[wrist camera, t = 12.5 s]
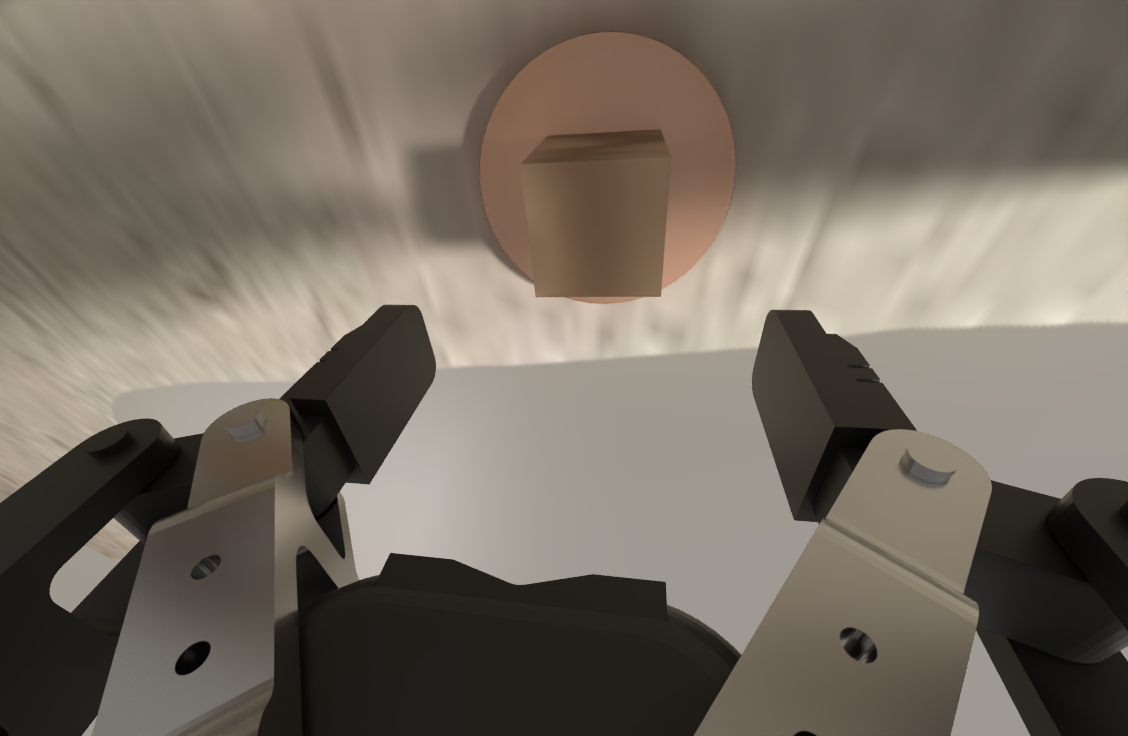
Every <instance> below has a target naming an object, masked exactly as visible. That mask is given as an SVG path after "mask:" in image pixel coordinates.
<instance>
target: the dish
mask: <svg viewBox="0 0 1128 736" xmlns="http://www.w3.org/2000/svg"><path fill="white" fill-rule="evenodd" d="M657 129H661V132H662V134H663V137H664V139H665V142H666V144H667V147H668V150H669V152H670V155H671V168H670V182H669V195H668V208H667V222H666V235H665V248H664V262H663V275H662V288H661V289H663V288H665V287H667V286H668V285H670V284H672V283H673V282H675V281H676V280H677V279H679V278H680V277H681V276H683V275H684V274H685V273H686V272H688V271H689V270H690V269H691V268H692V267H693V266H694V265H695V264H696V263H697V262H698V261H699V260H700V258H701V257H702V256H703V255H704V254H705V253H706V251H707V250H708V248H709V247H710V245H711V244H712V242H713V241H714V239H715V238H716V236H717V234H718V232H719V230H720V228H721V226H722V224H723V222H724V220H725V217H726V215H727V212H728V209H729V206H730V203H731V198H732V194H733V190H734V182H735V173H736V157H735V145H734V139H733V133H732V129H731V126H730V122H729V119H728V116H727V113H726V111H725V109H724V106H723V104H722V102H721V100H720V98H719V96H718V94H717V93H716V91H715V90H714V88H713V87H712V85H711V84H710V82H709V81H708V79H707V78H706V77H705V76H704V75H703V74H702V73H701V72H700V70H699V69H698V68H697V67H696V66H695V65H694V64H693V63H692V62H690V61H689V60H688V59H687V58H685V57H684V56H683V55H681V54H680V53H679V52H678V51H676V50H674V49H672V48H670V47H668V46H667V45H665V44H663V43H661V42H659V41H656V40H653V39H650V38H647V37H644V36H642V35H636V34H630V33H624V32H599V33H593V34H587V35H581V36H578V37H575V38H572V39H569V40H567V41H564V42H561V43H560V44H558V45H556V46H554V47H552V48H550V49H548V50H546V51H545V52H543V53H542V54H540V55H539V56H538V57H536V58H535V59H534V60H532V61H531V62H529V63H528V64H527V65H526V66H525V67H524V68H523V69H522V70H521V71H520V72H519V73H518V74H517V75H516V76H515V78H514V79H513V80H512V81H511V83H510V84H509V85H508V87H507V88H506V89H505V91H504V92H503V94H502V95H501V97H500V99H499V101H498V102H497V104H496V106H495V108H494V110H493V112H492V115H491V117H490V120H489V122H488V125H487V128H486V132H485V135H484V139H483V143H482V150H481V157H480V186H481V195H482V200H483V204H484V208H485V212H486V215H487V218H488V221H489V223H490V226H491V228H492V230H493V232H494V234H495V236H496V239H497V241H498V242H499V244H500V245H501V247H502V248H503V250H504V251H505V253H506V254H507V255H508V257H509V258H510V259H511V260H512V261H513V263H514V264H515V265H516V266H517V267H518V268H519V269H520V270H521V271H522V272H523V273H524V274H525V275H527V276H528V277H529V278H531V279H532V280H533V281H534V277H533V269H532V260H531V252H530V243H529V235H528V226H527V217H526V209H525V200H524V192H523V183H522V175H521V166H520V164H521V163H522V162H523V161H524V160H525V159H526V158H527V157H528V155H529V154H530V153H531V152H532V151H533V150H534V149H535V148H536V147H537V146H538V145H539V144H540V143H541V142H542V141H543V140H544V139H545V138H546V137H547V136H550V135H568V134H586V133H603V132H621V131H639V130H657ZM566 298H569V299H573V300H576V301H582V302H587V303H598V304H609V303H621V302H627V301H632V300H635V299H639V298H642V297H566Z"/></svg>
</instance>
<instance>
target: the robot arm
mask: <svg viewBox="0 0 1128 736" xmlns="http://www.w3.org/2000/svg"><path fill="white" fill-rule="evenodd" d="M435 372H436V362H435V357H434V353H433V350H432V347H431V343H430V340H429V336H428V333H427V330H426V326H425V323H424V320H423V316H422V313H421V311H420V310H419V308H418V307H417V306H415V305H383V306H381V307H380V308H379V309H378V310H377V311H376V312H375V313H374V314H373V315H372V316H371V317H370V318H369V319H368V320H367V321H366V322H365V323H364V324H363V325H362V326H360V327H358V328H356V329H355V330H353V331H351V332H350V333H348V334H346V335H344V336H343V337H342V338H341V339H340V340H339V341H338V342H337V343H336V344H335V345H334V346H333V347H332V348H331V351H328V352H327V353H326V354H325V355H324V356H323V357H322V358H321V359H320V362H317V363H316V364H315V365H314V366H313V367H312V368H310V369H309V370H308V371H307V372H306V373H305V374H304V375H303V376H302V377H301V378H300V379H299V380H298V381H297V382H296V383H295V384H294V385H293V386H292V387H291V388H290V389H289V390H288V391H287V392H286V393H285V394H284V395H283V396H282V397H281V398H280V399H270V398H269V399H261V400H256V401H252V402H249V403H246V404H243V405H240V406H238V407H236V408H234V409H232V410H231V411H228V412H227V413H225V414H224V415H222V416H220V417H219V418H218V419H216V420H215V421H214V422H213V423H212V424H211V425H210V426H209V427H208V428H207V429H206V431H205V432H204V433H203V434H197V435H191V436H186V437H180V438H174V439H173V437H172V436H171V435H170V434H169V433H168V432H167V431H166V429H165V428H164V427H163V426H162V425H161V424H160V422H158V421H157V420H154V419H137V420H132V421H127V422H124V423H121V424H118V425H115V426H112V427H110V428H107V429H105V430H103V431H101V432H99V433H97V434H95V435H93V436H91V437H90V438H88V439H86V440H85V441H83V442H82V443H80V444H79V445H77V446H76V447H75V448H73V449H72V450H71V451H69V452H68V453H67V454H65V455H64V456H63V457H61V458H60V459H59V460H57V461H56V462H55V463H53V464H52V465H51V466H49V467H48V468H47V469H45V470H44V471H43V472H41V473H40V474H39V475H37V476H36V477H35V478H33V479H32V480H31V481H29V482H28V483H27V484H25V485H24V486H23V487H21V488H20V489H18V490H17V491H16V492H14V493H13V494H12V495H10V496H9V497H8V498H6V499H5V500H4V501H2V502H1V503H0V736H82V734H83V733H84V732H85V731H86V729H87V728H88V727H89V725H90V724H91V723H92V721H93V720H94V719H95V717H96V716H97V719H96V722H95V726H94V729H93V733H92V736H950V735H951V731H952V727H953V722H954V718H955V714H956V710H957V706H958V702H959V698H960V693H961V690H962V685H963V681H964V677H965V673H966V669H967V665H968V661H969V656H970V652H971V648H972V644H973V640H974V636H975V632H976V631H977V633H978V635H979V637H980V639H981V640H982V642H983V644H984V646H985V648H986V650H987V652H988V654H989V656H990V658H991V660H992V662H993V664H994V666H995V668H996V670H997V672H998V673H999V675H1000V677H1001V679H1002V681H1003V683H1004V685H1005V687H1006V689H1007V691H1008V693H1009V695H1010V696H1011V699H1012V700H1013V702H1014V704H1015V706H1016V708H1017V710H1018V712H1019V714H1020V716H1021V718H1022V720H1023V722H1024V724H1025V725H1026V728H1027V730H1028V731H1029V733H1030V735H1031V736H1128V661H1127V660H1126V658H1125V657H1124V656H1123V654H1122V653H1121V652H1120V650H1122V649H1123V648H1125V647H1127V646H1128V482H1126V481H1121V480H1115V479H1108V478H1092V479H1086V480H1083V481H1080V482H1079V483H1077V484H1076V485H1075V486H1074V487H1073V488H1072V489H1071V490H1070V491H1069V492H1068V493H1067V494H1066V495H1065V496H1064V497H1063V498H1062V499H1059V498H1055V497H1052V496H1048V495H1044V494H1040V493H1037V492H1032V491H1028V490H1025V489H1021V488H1017V487H1014V486H1010V485H1006V484H1003V483H999V482H995V481H992V480H990V478H989V476H988V474H987V472H986V471H985V469H984V468H983V467H982V466H981V465H980V464H979V463H978V462H977V461H976V460H975V459H974V458H973V457H972V456H970V455H969V454H968V453H967V452H965V451H964V450H962V449H960V448H959V447H957V446H955V445H954V444H952V443H950V442H948V441H945V440H943V439H941V438H939V437H936V436H933V435H930V434H927V433H923V432H919V431H917V430H916V429H915V427H914V426H913V424H912V423H911V422H910V420H909V419H908V418H907V416H906V415H905V413H904V412H903V411H902V409H901V408H900V407H899V405H898V404H897V402H896V401H895V400H894V398H893V397H892V395H891V394H890V393H889V391H888V390H887V388H886V387H885V386H884V384H883V383H880V382H879V380H880V379H879V377H878V376H877V375H876V373H875V372H874V371H873V369H871V368H869V364H868V362H867V361H866V360H865V358H864V357H863V355H862V354H861V353H860V351H859V350H858V348H856V347H854V346H853V345H851V344H850V343H849V342H847V341H846V340H844V339H843V338H841V337H840V336H838V335H837V334H826V332H825V331H824V329H823V328H822V326H821V325H820V323H819V322H818V320H817V319H816V317H815V316H814V314H813V313H812V312H811V311H809V310H771V311H770V312H769V313H768V315H767V317H766V320H765V324H764V328H763V332H762V336H761V340H760V344H759V348H758V352H757V356H756V360H755V364H754V368H753V375H752V390H753V395H754V399H755V402H756V405H757V408H758V411H759V414H760V417H761V420H762V423H763V426H764V429H765V433H766V436H767V438H768V442H769V445H770V448H771V451H772V454H773V457H774V460H775V463H776V466H777V469H778V472H779V475H780V478H781V482H782V485H783V488H784V490H785V494H786V497H787V500H788V503H789V506H790V509H791V512H792V515H793V518H794V520H798V521H810V522H818V523H819V526H818V527H817V529H816V531H815V532H814V534H813V536H812V537H811V539H810V541H809V543H808V544H807V546H806V548H805V549H804V551H803V553H802V554H801V556H800V558H799V559H798V561H797V563H796V565H795V566H794V568H793V570H792V571H791V573H790V575H789V576H788V578H787V580H786V581H785V583H784V585H783V586H782V588H781V590H780V591H779V593H778V595H777V596H776V598H775V600H774V602H773V603H772V605H771V606H770V608H769V610H768V612H767V613H766V615H765V617H764V618H763V620H762V622H761V623H760V625H759V627H758V628H757V630H756V632H755V633H754V635H753V637H752V638H751V640H750V642H749V643H748V645H747V647H746V649H745V650H744V652H743V654H742V655H741V654H740V653H739V652H738V651H737V650H736V649H735V648H734V647H733V646H732V645H731V644H730V643H729V642H727V641H726V640H725V639H724V638H723V637H722V636H720V635H719V634H718V633H717V632H716V631H714V630H713V629H711V628H710V627H708V626H707V625H705V624H704V623H702V622H701V621H700V620H698V619H696V618H694V617H692V616H691V615H689V614H687V613H685V612H683V611H681V610H679V609H676V608H674V607H671V606H669V605H667V601H666V583H665V582H660V581H651V580H641V579H632V578H622V577H612V576H603V575H594V574H592V575H586V576H579V577H572V578H566V579H559V580H553V581H546V582H540V583H533V584H527V585H514V584H511V583H508V582H506V581H504V580H501V579H499V578H496V577H494V576H491V575H489V574H487V573H484V572H482V571H479V570H477V569H474V568H472V567H470V566H467V565H465V564H462V563H460V562H458V561H455V560H451V559H443V558H433V557H424V556H414V555H405V554H395V553H390V555H389V557H388V559H387V561H386V563H385V565H384V567H383V569H382V571H381V573H380V575H377V576H373V577H369V578H365V579H362V580H359V579H358V576H357V572H356V568H355V563H354V557H353V551H352V544H351V538H350V532H349V525H348V519H347V513H346V506H345V501H344V498H343V496H342V495H341V493H340V490H341V489H342V487H343V486H344V484H345V483H360V484H370V483H371V481H372V479H373V478H374V476H375V474H376V473H377V471H378V469H379V468H380V466H381V465H382V463H383V462H384V460H385V458H386V457H387V455H388V453H389V452H390V450H391V449H392V447H393V445H394V444H395V442H396V441H397V439H398V437H399V436H400V434H401V432H402V431H403V429H404V428H405V426H406V424H407V423H408V421H409V420H410V418H411V416H412V415H413V413H414V411H415V410H416V408H417V407H418V405H419V403H420V401H421V400H422V398H423V397H424V395H425V394H426V392H427V390H428V389H429V387H430V386H431V384H432V382H433V380H434V377H435ZM112 518H114V519H115V520H117V521H118V522H119V523H120V524H121V525H122V526H124V527H125V528H126V529H127V530H128V531H129V532H130V533H132V534H133V535H134V536H135V537H136V538H137V539H139V540H140V541H139V542H138V543H137V544H136V545H135V546H134V547H133V548H132V549H131V550H130V552H129V553H128V554H127V555H126V556H125V557H124V558H123V559H122V560H121V561H120V562H119V563H118V564H117V565H116V566H115V567H114V568H113V570H111V571H110V573H109V574H108V575H107V576H106V577H105V578H104V579H103V580H102V581H101V582H100V583H99V584H98V585H97V586H96V587H95V588H94V589H93V591H91V593H90V594H89V595H88V596H87V597H86V598H85V599H84V600H83V601H82V602H81V603H80V604H79V605H78V606H77V607H76V608H75V609H74V610H73V611H72V612H71V613H69V612H68V611H66V610H65V609H63V608H62V607H60V606H58V605H57V604H55V603H54V602H53V601H52V599H51V597H50V594H49V593H50V591H49V589H50V584H51V582H52V579H53V577H54V575H55V574H56V573H57V571H58V570H59V569H60V568H61V567H62V566H63V565H64V564H65V563H66V562H67V561H68V560H69V559H70V558H71V557H72V556H73V555H74V554H75V553H77V551H79V550H80V549H81V548H82V547H83V546H84V545H85V544H86V543H87V542H88V541H89V540H90V539H91V538H92V537H93V536H94V535H96V534H97V533H98V532H99V531H100V530H101V529H102V528H103V527H104V526H105V525H106V524H107V523H108V522H109V521H110V520H111V519H112Z"/></svg>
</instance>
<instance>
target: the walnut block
mask: <svg viewBox="0 0 1128 736" xmlns="http://www.w3.org/2000/svg"><path fill="white" fill-rule="evenodd" d="M520 166H521V175H522V183H523V192H524V200H525V209H526V217H527V226H528V235H529V243H530V252H531V260H532V269H533V277H534V286H535V295H536V297H661V288H662V275H663V262H664V248H665V235H666V222H667V208H668V195H669V182H670V168H671V155H670V152H669V150H668V147H667V144H666V142H665V139H664V137H663V134H662V132H661V129H657V130H639V131H621V132H603V133H586V134H568V135H550V136H547V137H546V138H545V139H544V140H543V141H542V142H541V143H540V144H539V145H538V146H537V147H536V148H535V149H534V150H533V151H532V152H531V153H530V154H529V155H528V157H527V158H526V159H525V160H524V161H523V162H522V163H521V164H520Z"/></svg>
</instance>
